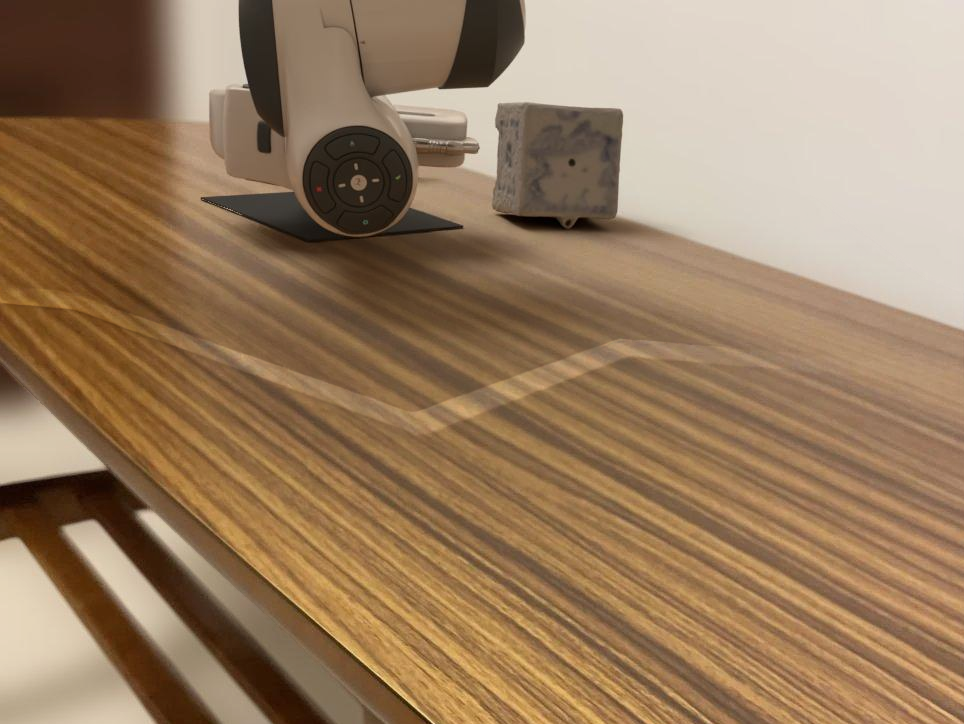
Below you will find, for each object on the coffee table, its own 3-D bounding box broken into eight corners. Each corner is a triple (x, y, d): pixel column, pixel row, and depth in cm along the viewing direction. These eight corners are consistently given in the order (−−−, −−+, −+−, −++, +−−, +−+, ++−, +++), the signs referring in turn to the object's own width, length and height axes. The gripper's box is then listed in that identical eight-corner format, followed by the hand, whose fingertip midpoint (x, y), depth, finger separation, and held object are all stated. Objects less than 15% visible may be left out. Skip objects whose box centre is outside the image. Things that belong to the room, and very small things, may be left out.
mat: (308, 242, 96) (308, 239, 96) (200, 199, 106) (200, 197, 106) (463, 227, 106) (463, 225, 106) (352, 190, 116) (352, 188, 116)
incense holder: (581, 211, 119) (594, 98, 114) (617, 231, 112) (633, 111, 107) (485, 208, 115) (495, 91, 110) (515, 229, 108) (527, 104, 104)
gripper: (487, 108, 92) (461, 85, 104) (203, 84, 88) (211, 63, 100) (480, 194, 95) (456, 162, 107) (205, 175, 90) (212, 143, 102)
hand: (336, 114), depth 103 cm, fingers open, 6 cm apart
